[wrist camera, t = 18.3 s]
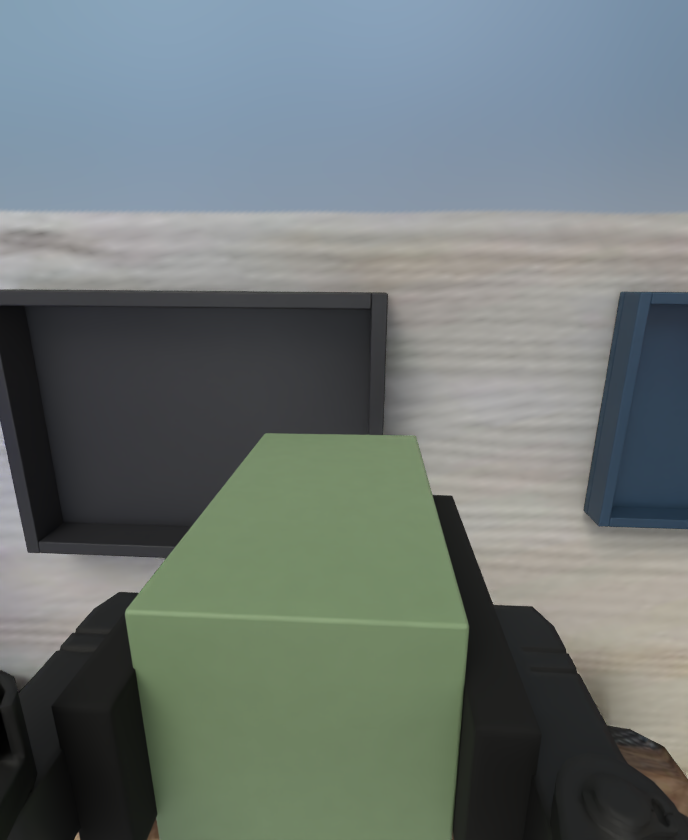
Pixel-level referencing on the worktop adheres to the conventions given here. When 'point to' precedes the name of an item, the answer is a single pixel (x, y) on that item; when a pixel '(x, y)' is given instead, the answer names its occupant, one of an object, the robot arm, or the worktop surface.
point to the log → (638, 755)
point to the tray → (644, 417)
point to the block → (306, 652)
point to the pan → (169, 401)
